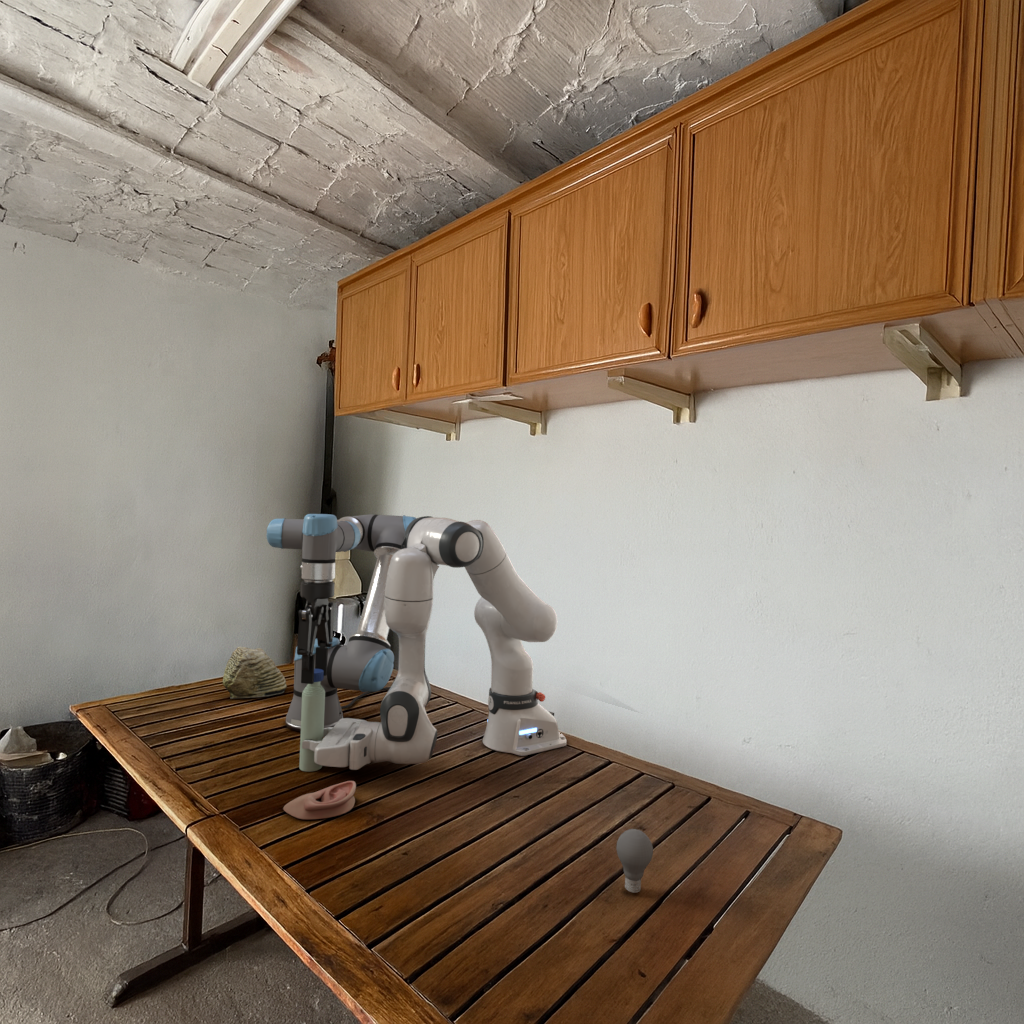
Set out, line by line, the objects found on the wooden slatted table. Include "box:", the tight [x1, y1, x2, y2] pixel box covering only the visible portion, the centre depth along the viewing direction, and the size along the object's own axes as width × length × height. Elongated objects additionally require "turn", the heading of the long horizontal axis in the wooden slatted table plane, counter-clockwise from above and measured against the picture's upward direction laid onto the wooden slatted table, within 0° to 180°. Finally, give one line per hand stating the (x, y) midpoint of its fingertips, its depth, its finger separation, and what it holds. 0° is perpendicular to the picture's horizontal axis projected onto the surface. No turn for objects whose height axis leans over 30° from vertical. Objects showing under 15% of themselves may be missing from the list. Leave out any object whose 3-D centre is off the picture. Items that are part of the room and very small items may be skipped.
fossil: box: [222, 646, 288, 699], centre depth 198 cm, size 9×18×15 cm, turn 132°
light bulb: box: [615, 828, 654, 894], centre depth 106 cm, size 6×6×10 cm
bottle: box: [298, 681, 325, 773], centre depth 148 cm, size 5×5×22 cm
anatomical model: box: [282, 780, 357, 820], centre depth 129 cm, size 13×4×12 cm
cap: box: [314, 669, 324, 682], centre depth 148 cm, size 4×4×2 cm
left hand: (314, 678), depth 148 cm, fingers open, 6 cm apart
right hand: (308, 738), depth 148 cm, fingers closed on bottle, 5 cm apart
